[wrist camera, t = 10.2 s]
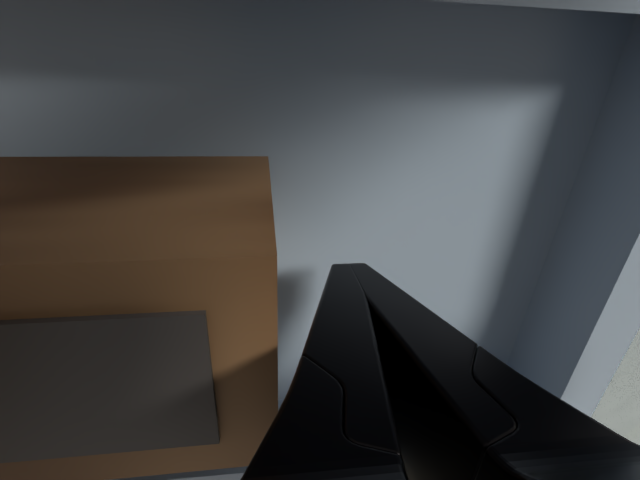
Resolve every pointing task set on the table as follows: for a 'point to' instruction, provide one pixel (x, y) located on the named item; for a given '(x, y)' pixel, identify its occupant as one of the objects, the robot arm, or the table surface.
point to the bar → (135, 315)
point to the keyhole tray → (380, 150)
